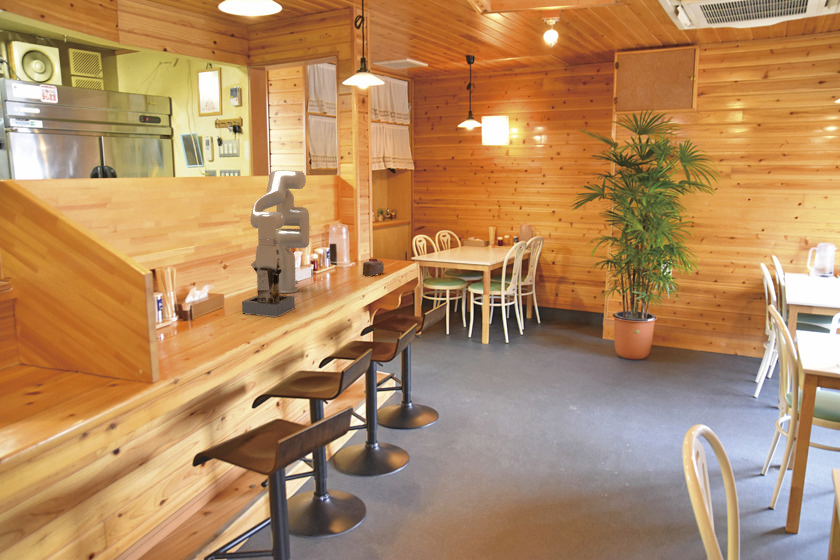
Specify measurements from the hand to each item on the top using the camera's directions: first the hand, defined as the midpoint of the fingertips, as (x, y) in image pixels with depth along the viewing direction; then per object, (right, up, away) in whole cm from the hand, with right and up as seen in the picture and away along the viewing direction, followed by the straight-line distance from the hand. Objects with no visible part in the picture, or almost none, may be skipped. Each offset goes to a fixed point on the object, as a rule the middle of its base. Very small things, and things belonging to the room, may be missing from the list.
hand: (268, 282), depth 255 cm
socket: (0, -12, +2) cm, 13 cm away
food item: (+38, +4, +91) cm, 99 cm away
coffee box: (0, -10, +2) cm, 10 cm away
